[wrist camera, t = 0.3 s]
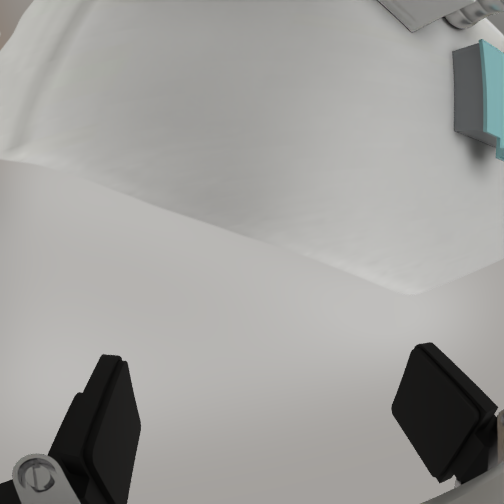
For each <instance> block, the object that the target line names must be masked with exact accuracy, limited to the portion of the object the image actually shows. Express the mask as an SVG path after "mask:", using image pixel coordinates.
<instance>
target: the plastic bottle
mask: <svg viewBox="0 0 504 504" xmlns="http://www.w3.org/2000/svg"><path fill="white" fill-rule="evenodd" d="M500 12H504V0H476V1H475V2H474V3H472V4H470V5H468V6H465V7H463V8H461V9H459V10H457V11H454V12H452V13H450V14H448V15H446V16H445V18H446V19H447V20H448V22H449V23H451V24H452V25H453V26H455V27H457V28H460V29H465V28H470V27H472V26H473V25H475V24H476V23H477V22H478V21H480V20H482V19H484V18H486V17H487V16H490V15H493V14H497V13H500Z"/></svg>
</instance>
